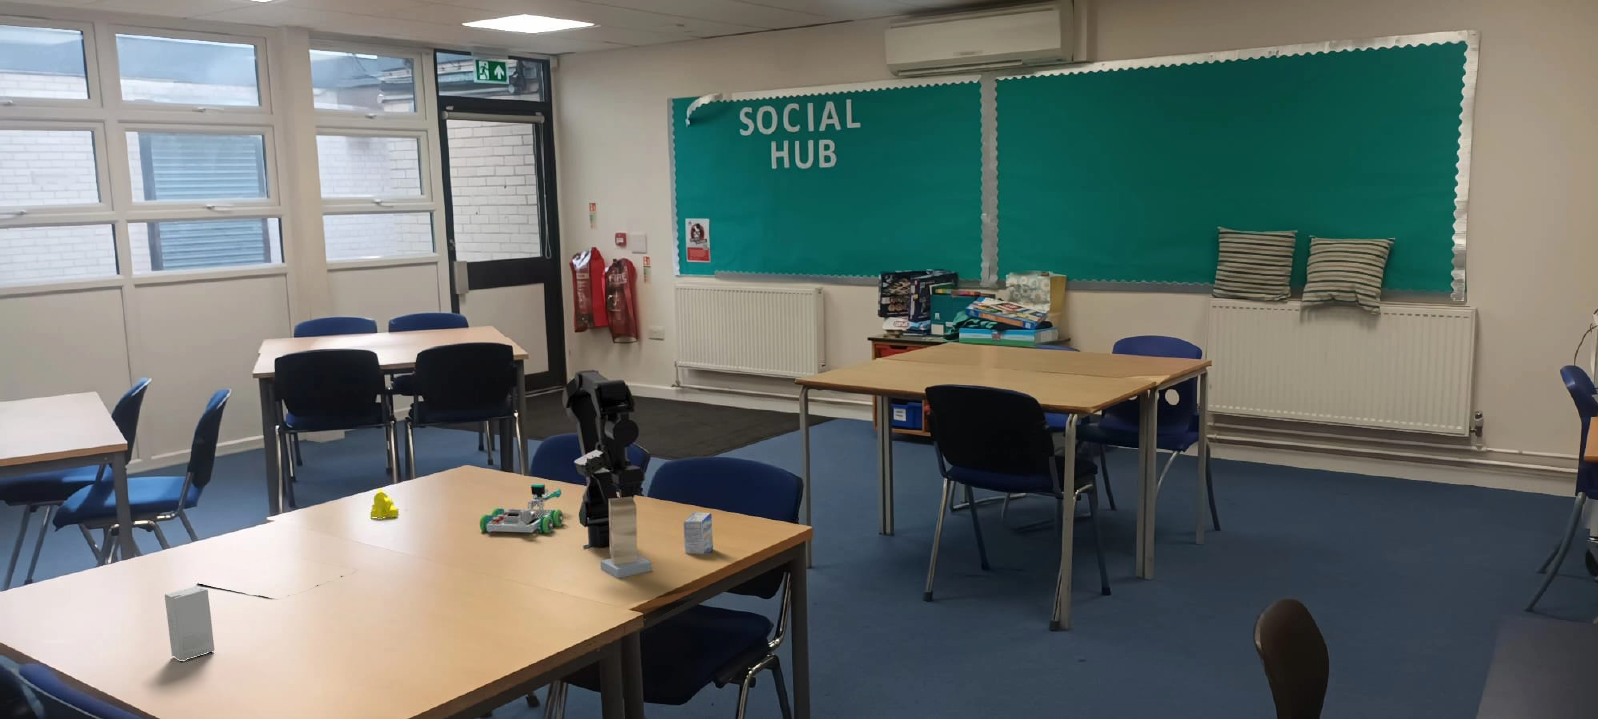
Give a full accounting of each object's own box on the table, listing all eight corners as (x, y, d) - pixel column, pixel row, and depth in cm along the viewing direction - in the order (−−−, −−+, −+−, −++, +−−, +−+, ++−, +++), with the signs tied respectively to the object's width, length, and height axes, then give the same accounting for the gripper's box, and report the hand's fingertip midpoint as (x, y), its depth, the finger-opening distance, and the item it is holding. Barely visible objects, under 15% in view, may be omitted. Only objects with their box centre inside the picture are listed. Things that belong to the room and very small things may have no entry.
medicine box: (703, 559, 255) (702, 521, 254) (684, 558, 256) (683, 521, 255) (713, 549, 262) (712, 512, 261) (694, 548, 263) (693, 511, 262)
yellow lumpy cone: (386, 520, 296) (384, 491, 295) (365, 517, 300) (362, 488, 299) (404, 515, 301) (402, 486, 300) (383, 512, 305) (380, 483, 304)
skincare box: (205, 647, 210) (199, 583, 209) (216, 653, 207) (209, 588, 206) (169, 658, 206) (163, 593, 204) (180, 663, 203) (173, 598, 201)
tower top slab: (600, 569, 246) (600, 560, 246) (634, 562, 250) (633, 553, 250) (617, 578, 239) (617, 569, 239) (651, 571, 244) (651, 561, 244)
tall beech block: (609, 554, 247) (608, 498, 243) (632, 551, 248) (632, 496, 245) (613, 564, 242) (612, 508, 239) (637, 561, 244) (636, 505, 240)
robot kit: (583, 512, 300) (581, 477, 299) (543, 539, 276) (541, 501, 274) (517, 510, 304) (515, 475, 302) (472, 536, 279) (470, 499, 278)
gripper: (561, 436, 252) (565, 505, 254) (595, 449, 237) (599, 522, 239) (607, 429, 258) (611, 497, 260) (644, 442, 243) (647, 513, 245)
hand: (616, 507), depth 251 cm, fingers open, 9 cm apart
